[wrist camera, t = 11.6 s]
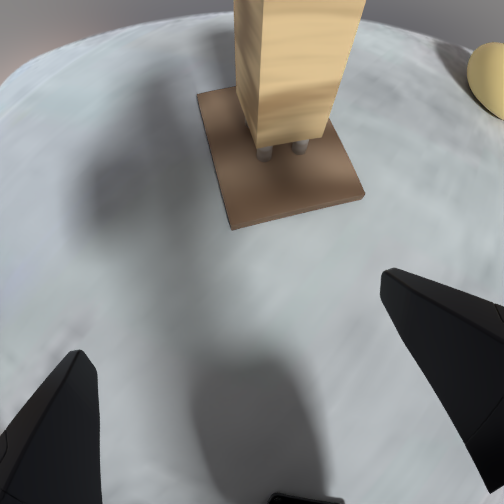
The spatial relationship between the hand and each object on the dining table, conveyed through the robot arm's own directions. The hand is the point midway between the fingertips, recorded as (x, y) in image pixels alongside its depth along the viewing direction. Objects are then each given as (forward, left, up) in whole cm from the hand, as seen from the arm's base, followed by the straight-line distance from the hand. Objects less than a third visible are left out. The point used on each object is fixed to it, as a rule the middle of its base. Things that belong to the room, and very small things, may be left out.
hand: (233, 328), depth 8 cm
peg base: (+3, -16, -14) cm, 21 cm away
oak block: (+3, -16, -10) cm, 19 cm away
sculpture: (-23, -40, -14) cm, 48 cm away
